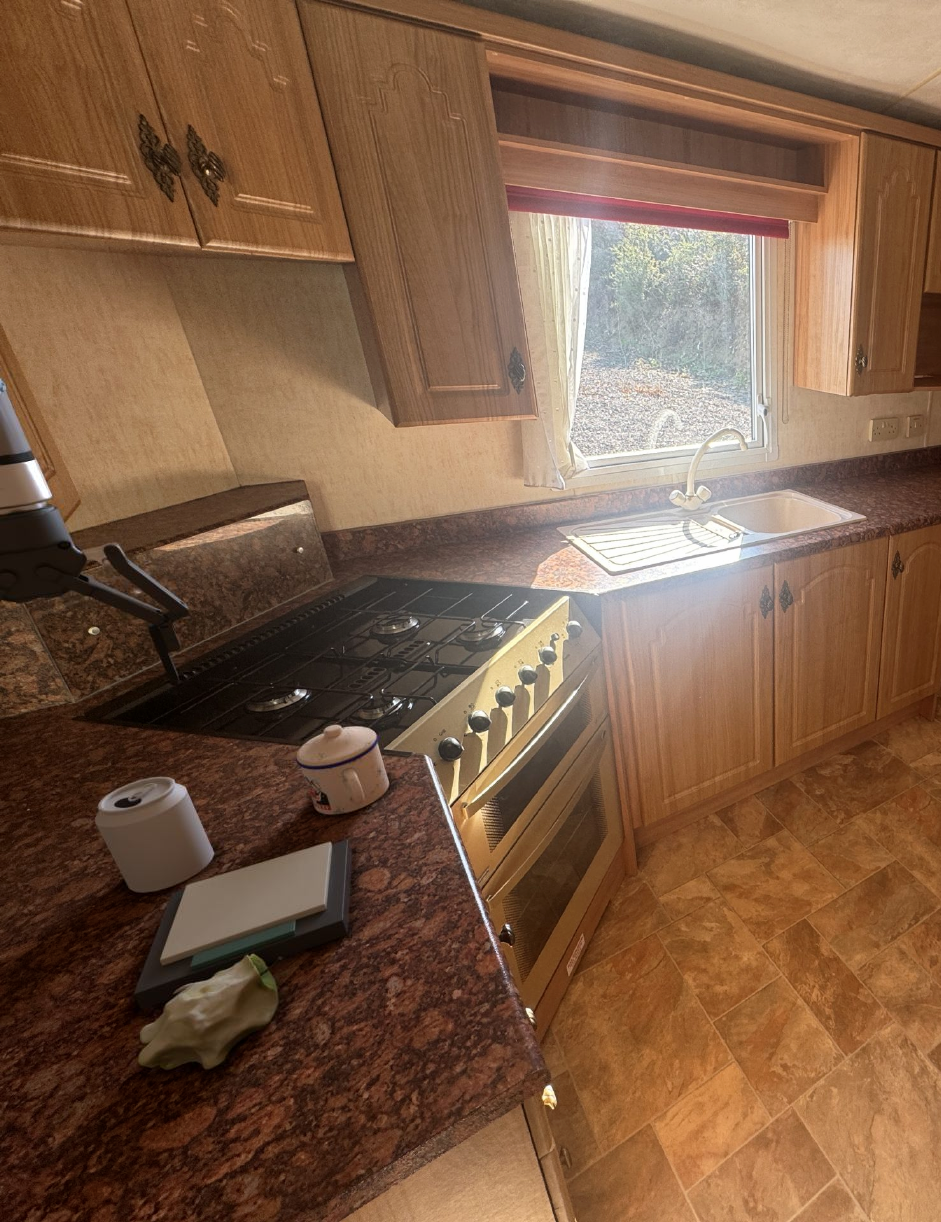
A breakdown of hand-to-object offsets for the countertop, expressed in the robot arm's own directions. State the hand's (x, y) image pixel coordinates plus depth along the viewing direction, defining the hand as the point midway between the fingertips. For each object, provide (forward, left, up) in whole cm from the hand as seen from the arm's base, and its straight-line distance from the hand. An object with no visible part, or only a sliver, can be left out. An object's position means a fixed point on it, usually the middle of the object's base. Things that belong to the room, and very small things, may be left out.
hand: (89, 699), depth 70 cm
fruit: (+10, -32, -23) cm, 40 cm away
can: (+1, -4, -23) cm, 23 cm away
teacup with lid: (+19, 0, -23) cm, 30 cm away
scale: (+11, -19, -23) cm, 31 cm away
